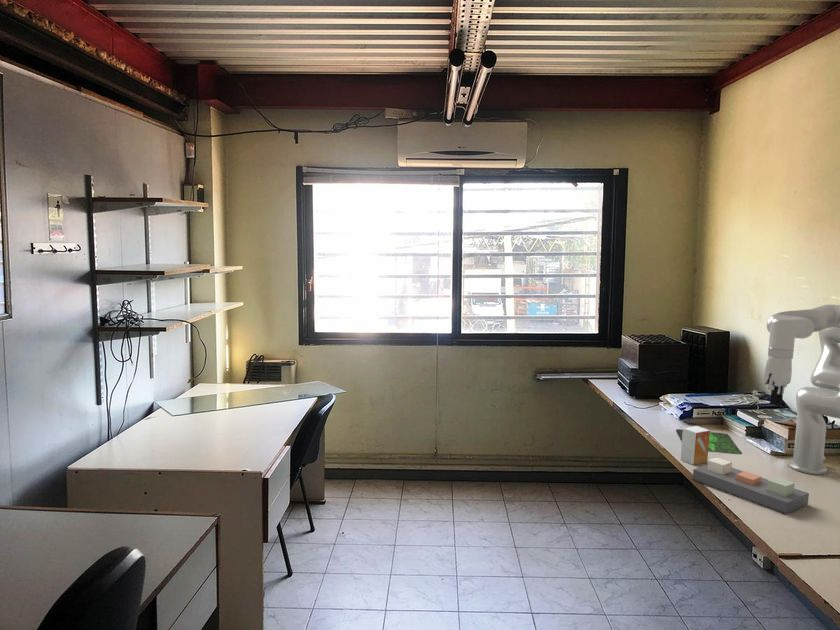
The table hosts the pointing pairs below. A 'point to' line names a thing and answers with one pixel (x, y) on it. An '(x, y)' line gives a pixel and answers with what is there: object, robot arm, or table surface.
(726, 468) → the cream key
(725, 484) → the key console
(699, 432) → the small box
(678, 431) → the mouse mat
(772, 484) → the sage key
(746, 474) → the terracotta key
